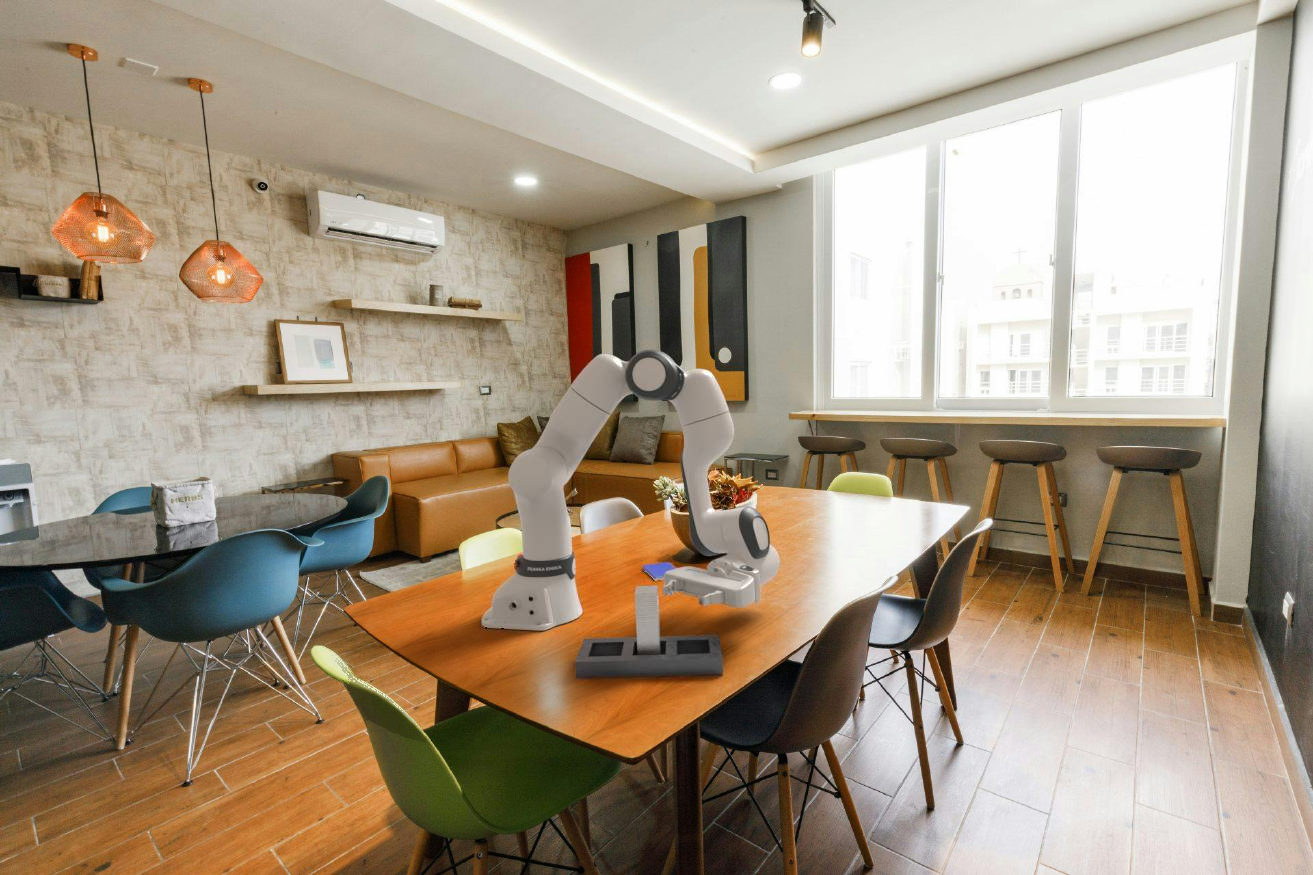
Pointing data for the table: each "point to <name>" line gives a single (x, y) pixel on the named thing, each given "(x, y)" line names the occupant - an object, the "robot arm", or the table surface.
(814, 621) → the table surface
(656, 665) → the dark grey flat frame
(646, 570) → the hard drive
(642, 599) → the post
